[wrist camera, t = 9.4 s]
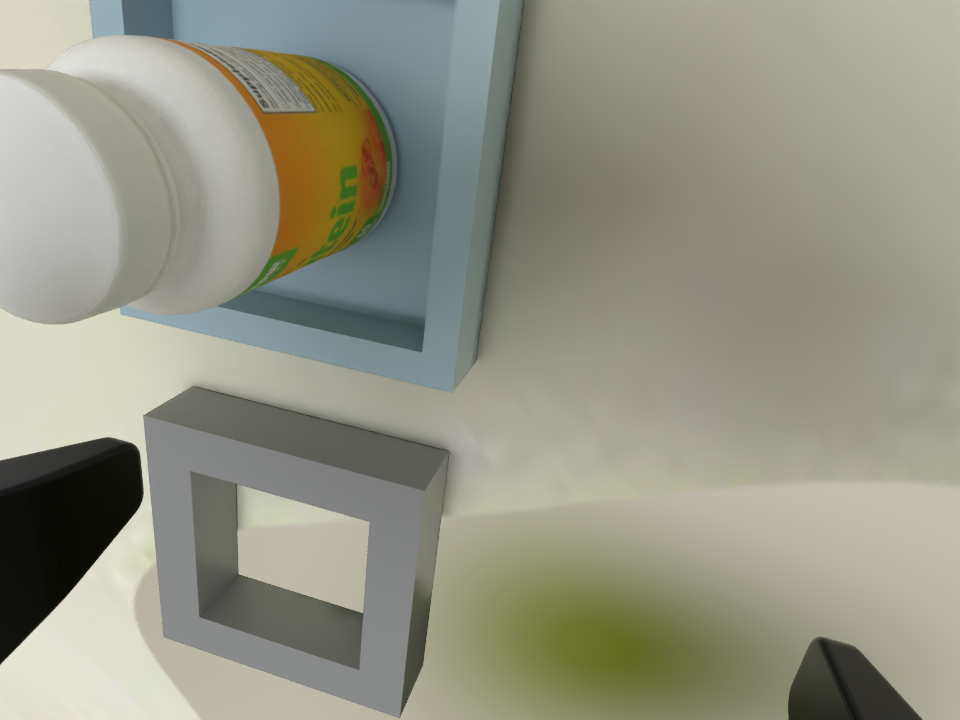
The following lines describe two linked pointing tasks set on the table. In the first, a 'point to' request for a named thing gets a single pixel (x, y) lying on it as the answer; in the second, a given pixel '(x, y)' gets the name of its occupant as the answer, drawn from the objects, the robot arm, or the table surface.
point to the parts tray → (419, 184)
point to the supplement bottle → (179, 175)
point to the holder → (311, 480)
